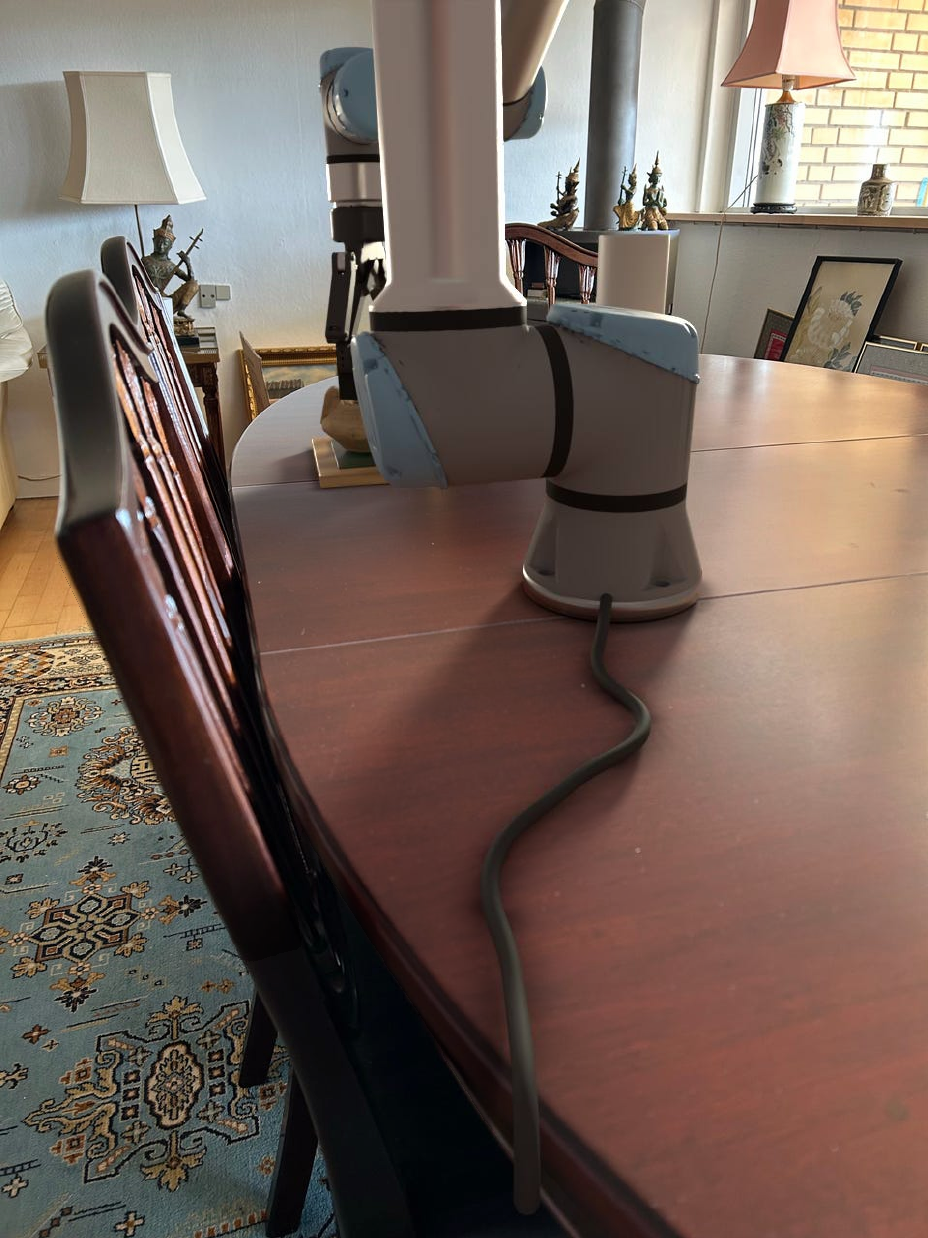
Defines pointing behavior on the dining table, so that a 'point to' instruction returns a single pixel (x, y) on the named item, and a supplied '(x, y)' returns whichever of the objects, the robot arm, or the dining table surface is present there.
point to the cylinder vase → (633, 271)
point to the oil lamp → (344, 421)
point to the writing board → (343, 465)
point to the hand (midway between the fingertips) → (373, 390)
